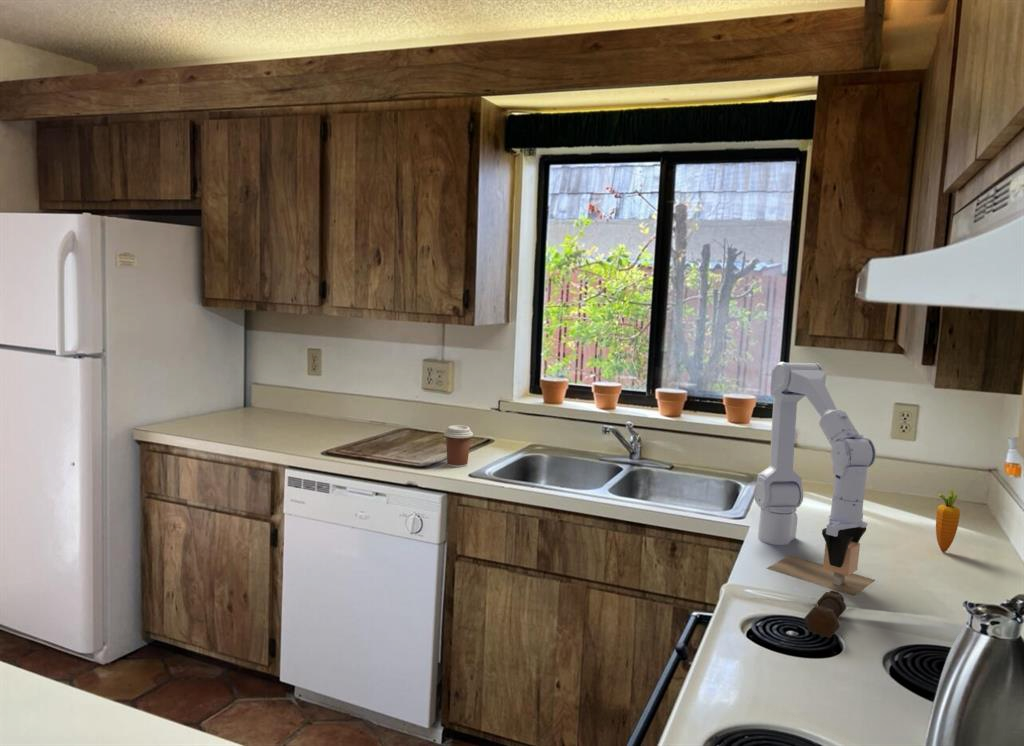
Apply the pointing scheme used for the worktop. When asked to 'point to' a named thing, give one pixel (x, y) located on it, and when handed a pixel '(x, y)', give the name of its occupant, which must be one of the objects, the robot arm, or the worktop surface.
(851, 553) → the salmon orange block
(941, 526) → the carrot
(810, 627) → the bolt
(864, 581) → the board
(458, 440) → the coffee cup
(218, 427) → the worktop surface
